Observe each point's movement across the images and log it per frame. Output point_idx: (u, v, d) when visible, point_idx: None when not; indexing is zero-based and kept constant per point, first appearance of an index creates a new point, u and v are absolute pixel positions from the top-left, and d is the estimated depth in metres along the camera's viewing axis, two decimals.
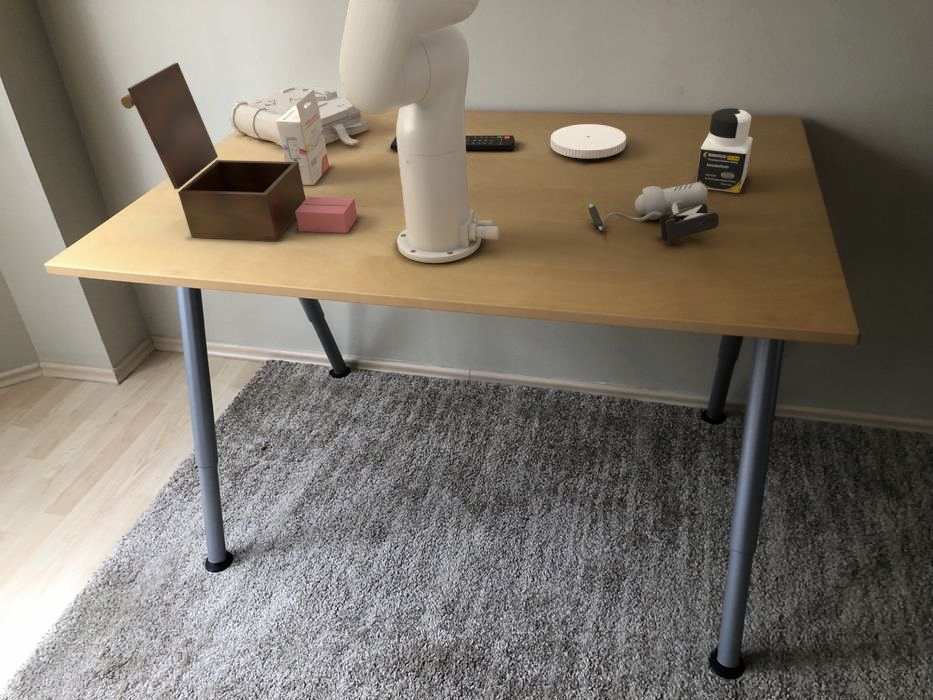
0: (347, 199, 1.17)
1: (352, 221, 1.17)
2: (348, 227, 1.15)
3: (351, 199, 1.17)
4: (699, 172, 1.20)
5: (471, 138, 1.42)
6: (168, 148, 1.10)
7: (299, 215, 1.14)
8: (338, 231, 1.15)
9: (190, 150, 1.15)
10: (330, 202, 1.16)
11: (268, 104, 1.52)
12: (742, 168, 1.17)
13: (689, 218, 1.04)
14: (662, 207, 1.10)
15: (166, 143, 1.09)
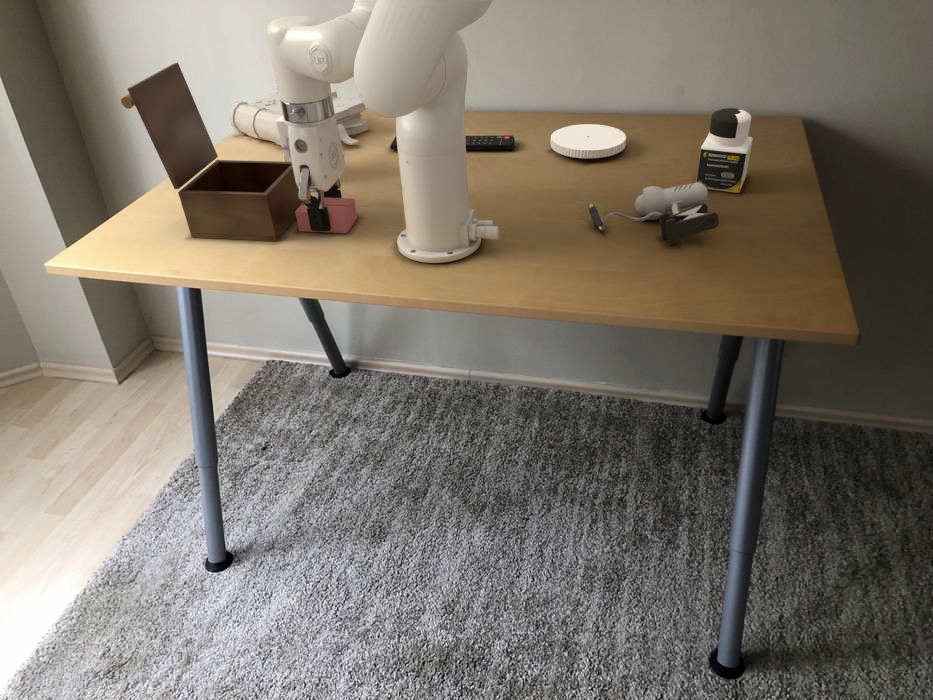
0: (347, 199, 1.17)
1: (352, 221, 1.17)
2: (348, 227, 1.15)
3: (351, 199, 1.17)
4: (699, 172, 1.20)
5: (471, 139, 1.42)
6: (168, 148, 1.10)
7: (299, 215, 1.14)
8: (338, 231, 1.15)
9: (190, 150, 1.15)
10: (330, 202, 1.16)
11: (268, 104, 1.52)
12: (742, 168, 1.17)
13: (689, 218, 1.04)
14: (662, 207, 1.10)
15: (166, 143, 1.09)
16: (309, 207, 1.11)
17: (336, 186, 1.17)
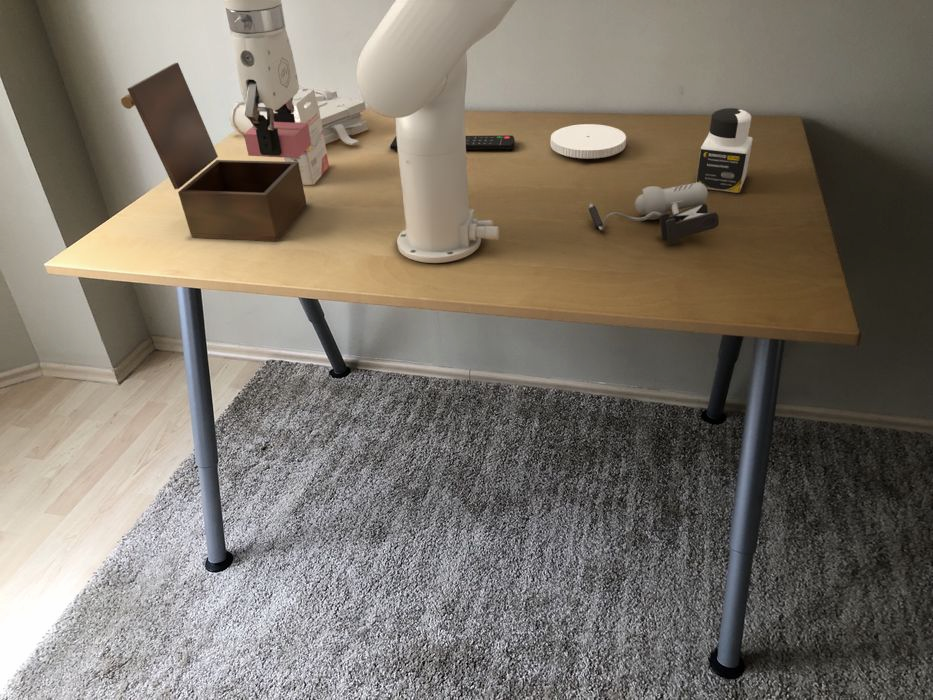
0: (300, 123, 1.11)
1: (305, 147, 1.11)
2: (300, 152, 1.09)
3: (304, 124, 1.11)
4: (699, 172, 1.20)
5: (471, 139, 1.42)
6: (168, 148, 1.10)
7: (248, 138, 1.08)
8: (289, 155, 1.09)
9: (190, 150, 1.15)
10: (282, 126, 1.10)
11: None
12: (742, 168, 1.17)
13: (689, 218, 1.04)
14: (662, 207, 1.10)
15: (166, 143, 1.09)
16: (257, 127, 1.05)
17: (289, 110, 1.11)
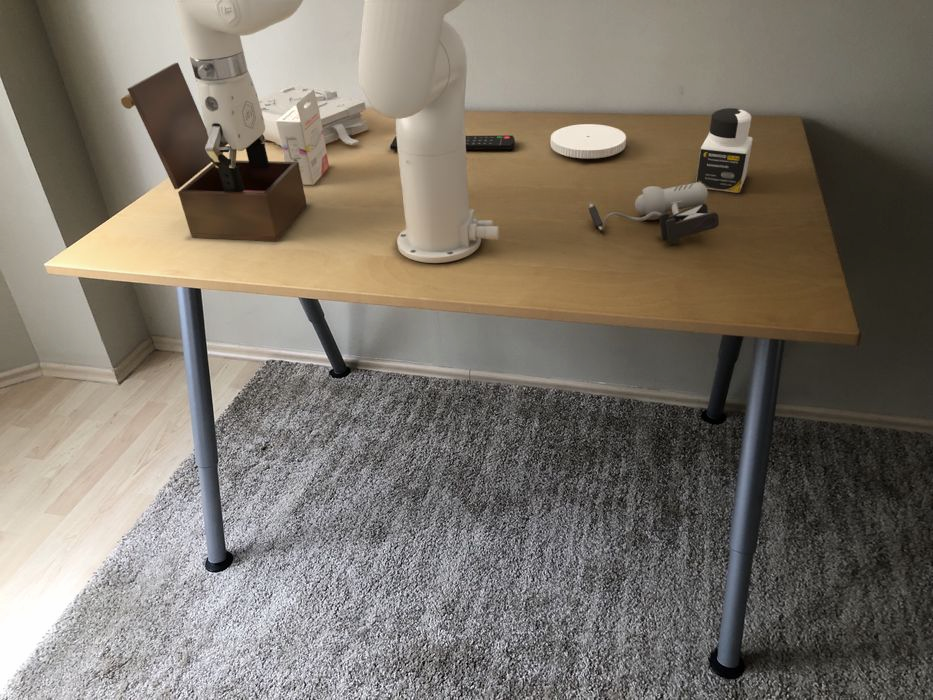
0: None
1: None
2: None
3: None
4: (699, 172, 1.20)
5: (471, 139, 1.42)
6: (168, 148, 1.10)
7: None
8: None
9: (190, 150, 1.15)
10: None
11: (268, 104, 1.52)
12: (742, 168, 1.17)
13: (689, 218, 1.04)
14: (662, 207, 1.10)
15: (166, 143, 1.09)
16: None
17: (260, 141, 1.16)
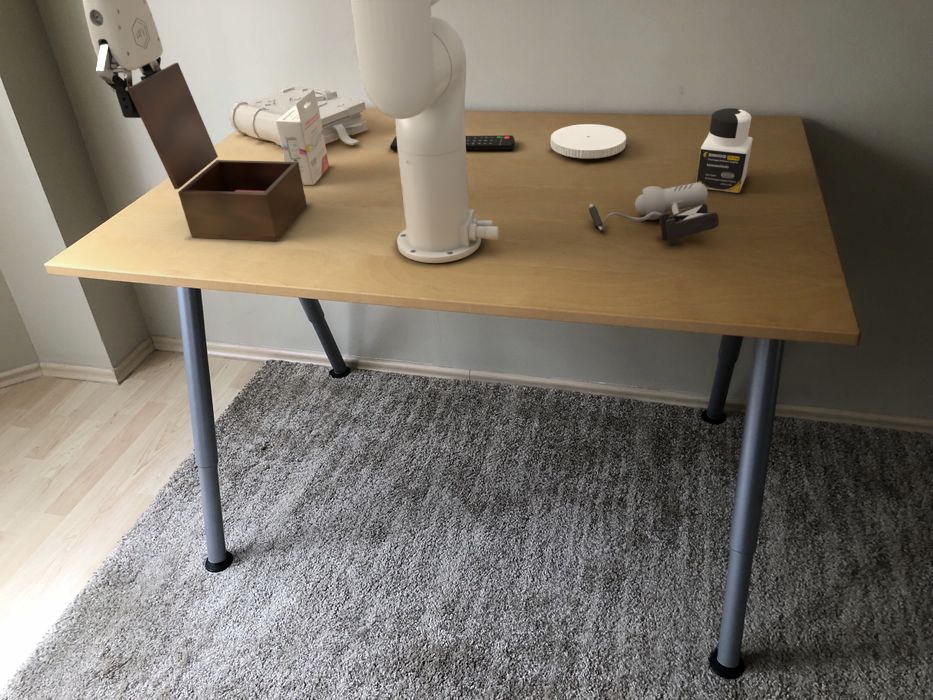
0: None
1: None
2: None
3: None
4: (699, 172, 1.20)
5: (471, 139, 1.42)
6: (168, 148, 1.10)
7: None
8: None
9: (190, 150, 1.15)
10: None
11: (268, 104, 1.52)
12: (742, 168, 1.17)
13: (689, 218, 1.04)
14: (662, 207, 1.10)
15: (166, 143, 1.09)
16: (115, 88, 1.05)
17: (155, 72, 1.12)
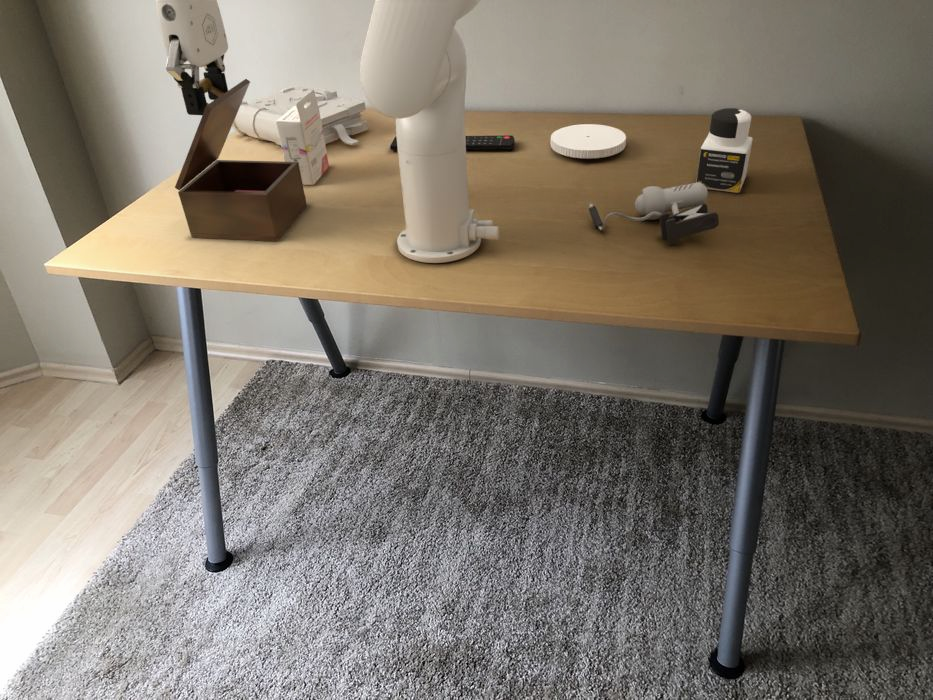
0: None
1: None
2: None
3: None
4: (699, 172, 1.20)
5: (471, 139, 1.42)
6: (196, 157, 1.09)
7: None
8: None
9: (207, 156, 1.15)
10: None
11: (268, 104, 1.52)
12: (742, 168, 1.17)
13: (689, 218, 1.04)
14: (662, 207, 1.10)
15: (198, 153, 1.09)
16: (182, 85, 1.03)
17: (219, 69, 1.09)
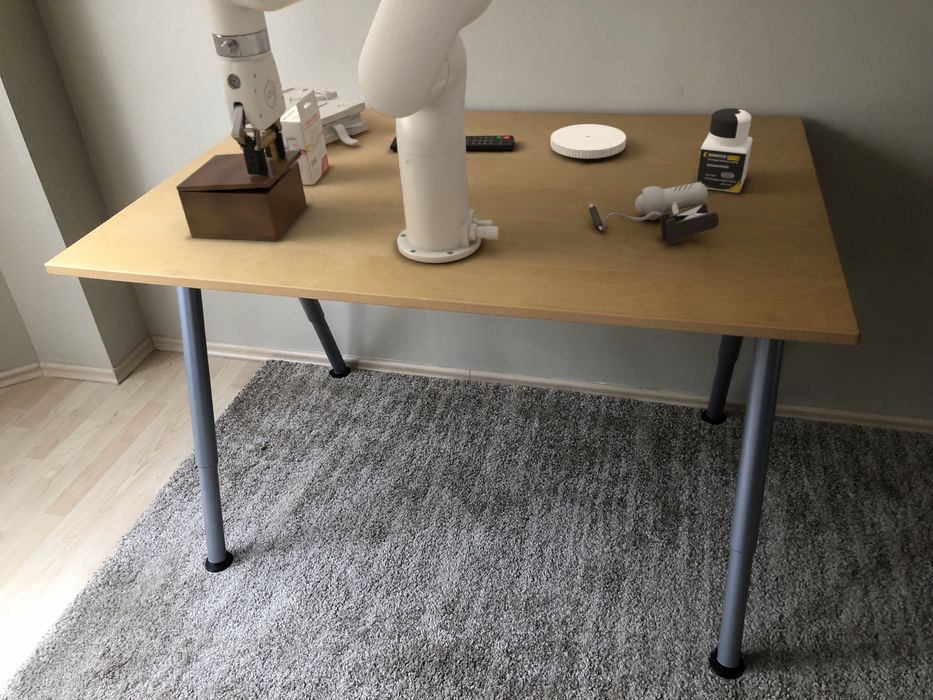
0: None
1: None
2: None
3: None
4: (699, 172, 1.20)
5: (471, 139, 1.42)
6: None
7: None
8: None
9: None
10: None
11: None
12: (742, 168, 1.17)
13: (689, 218, 1.04)
14: (662, 207, 1.10)
15: None
16: (244, 148, 1.07)
17: (277, 129, 1.13)
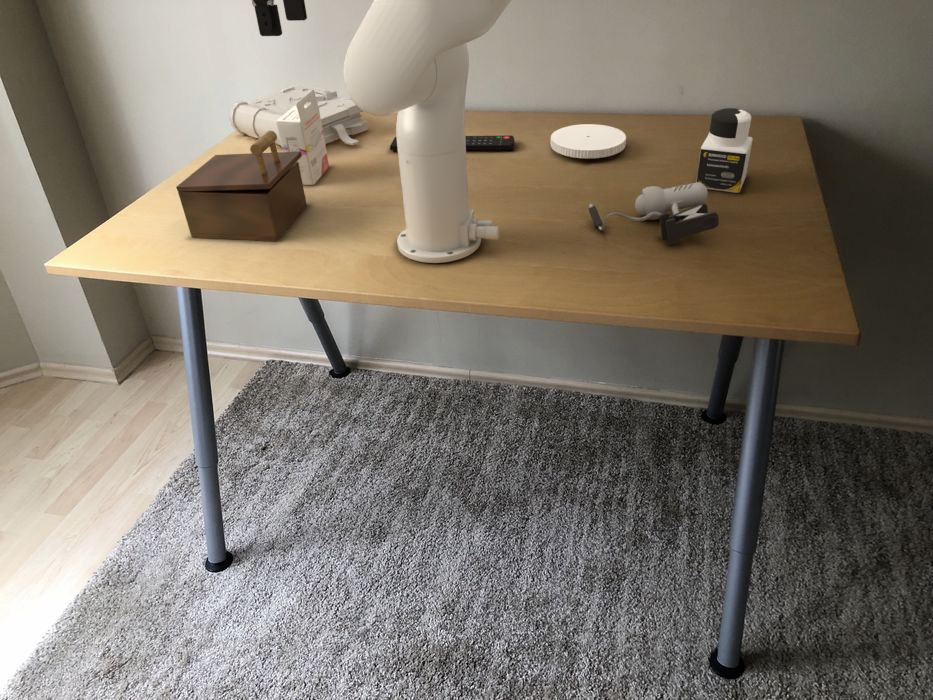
0: None
1: None
2: None
3: None
4: (699, 172, 1.20)
5: (471, 139, 1.42)
6: None
7: None
8: None
9: None
10: None
11: (268, 104, 1.52)
12: (742, 168, 1.17)
13: (689, 218, 1.04)
14: (662, 207, 1.10)
15: None
16: None
17: None
